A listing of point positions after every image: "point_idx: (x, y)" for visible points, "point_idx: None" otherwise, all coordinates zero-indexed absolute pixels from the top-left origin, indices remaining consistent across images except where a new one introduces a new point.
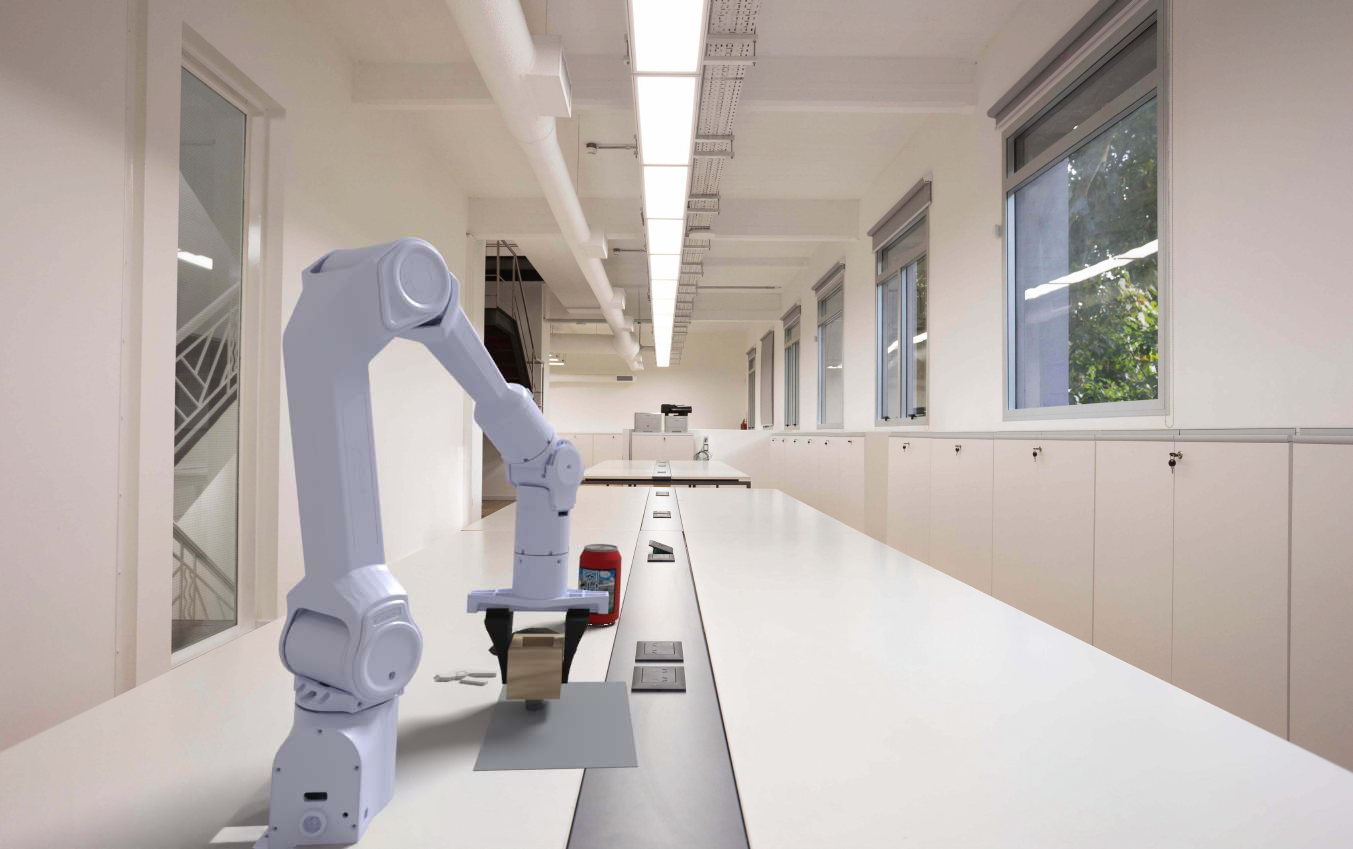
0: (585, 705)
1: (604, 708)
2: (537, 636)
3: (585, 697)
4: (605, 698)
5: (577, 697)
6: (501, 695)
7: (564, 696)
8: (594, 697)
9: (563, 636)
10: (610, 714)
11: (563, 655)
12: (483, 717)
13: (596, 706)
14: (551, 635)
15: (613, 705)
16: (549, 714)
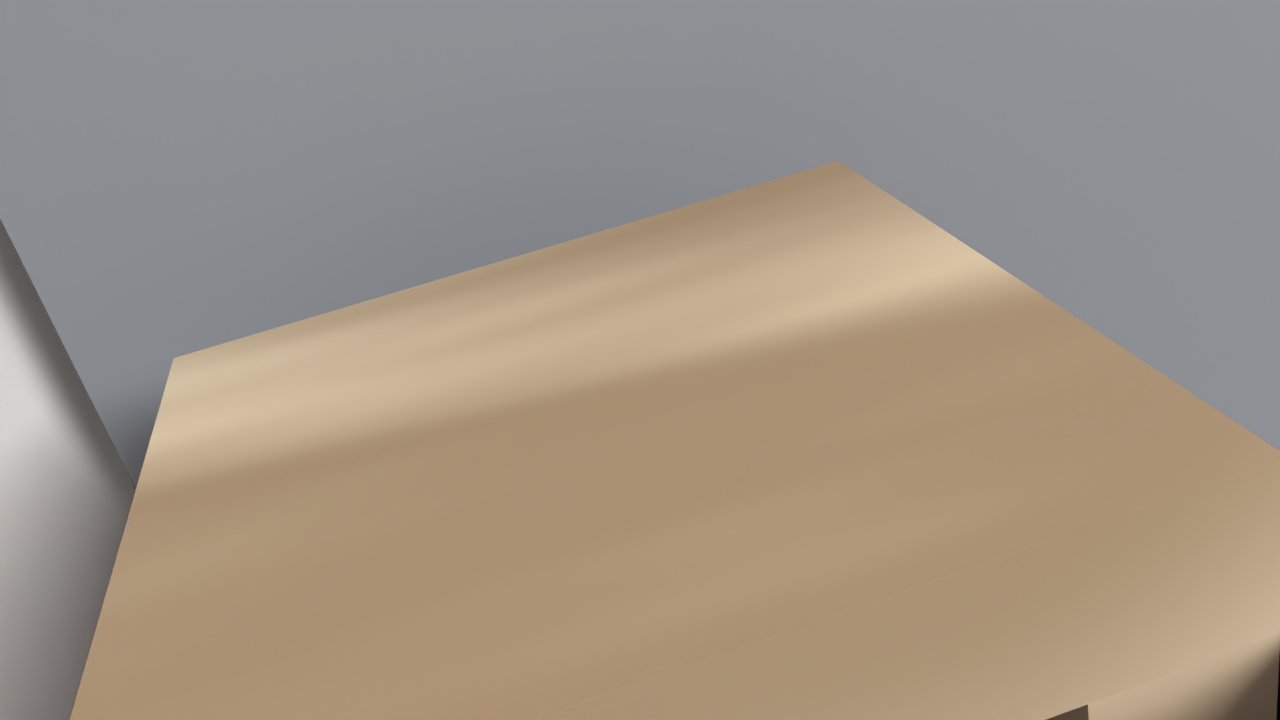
0: (1030, 275)
1: (1196, 293)
2: None
3: (1016, 83)
4: (1210, 53)
5: (932, 95)
6: (48, 265)
7: (793, 107)
8: (1105, 60)
9: (1267, 631)
10: (1239, 389)
11: (1004, 271)
12: (95, 588)
13: (1126, 264)
14: (1006, 663)
15: (1274, 204)
16: None
